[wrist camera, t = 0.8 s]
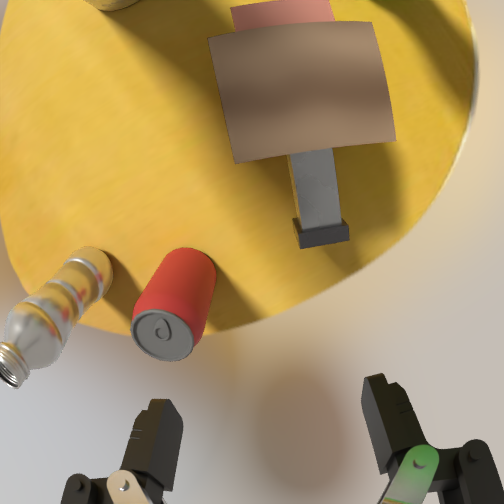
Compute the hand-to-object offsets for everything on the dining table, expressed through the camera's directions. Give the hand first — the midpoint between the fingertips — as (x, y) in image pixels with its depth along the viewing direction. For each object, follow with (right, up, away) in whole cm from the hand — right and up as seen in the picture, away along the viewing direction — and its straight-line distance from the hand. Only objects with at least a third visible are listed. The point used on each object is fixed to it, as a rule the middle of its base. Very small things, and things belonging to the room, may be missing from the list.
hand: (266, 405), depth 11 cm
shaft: (+3, +16, +11) cm, 20 cm away
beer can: (-8, +4, +23) cm, 25 cm away
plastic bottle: (-20, +5, +23) cm, 31 cm away
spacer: (+2, +24, +9) cm, 26 cm away
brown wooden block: (+3, +21, +15) cm, 26 cm away
